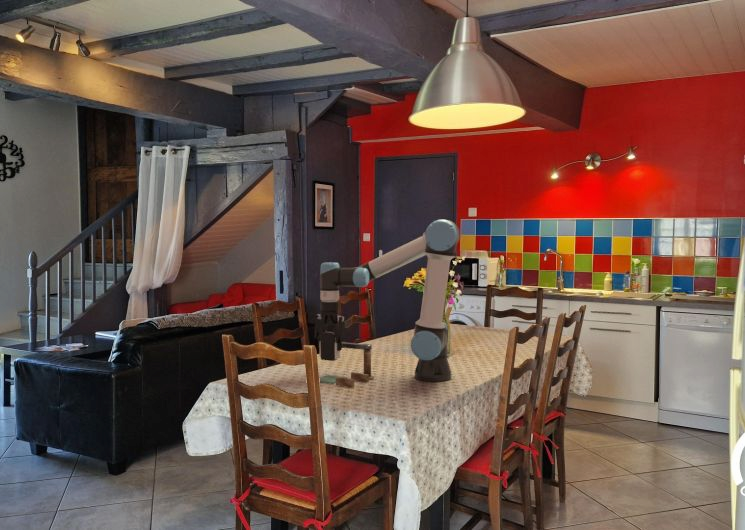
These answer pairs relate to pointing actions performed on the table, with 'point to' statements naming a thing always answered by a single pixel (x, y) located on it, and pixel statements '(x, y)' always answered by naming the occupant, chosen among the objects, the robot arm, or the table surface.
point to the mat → (329, 379)
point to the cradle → (358, 376)
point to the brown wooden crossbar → (357, 346)
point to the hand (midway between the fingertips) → (329, 357)
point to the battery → (327, 346)
